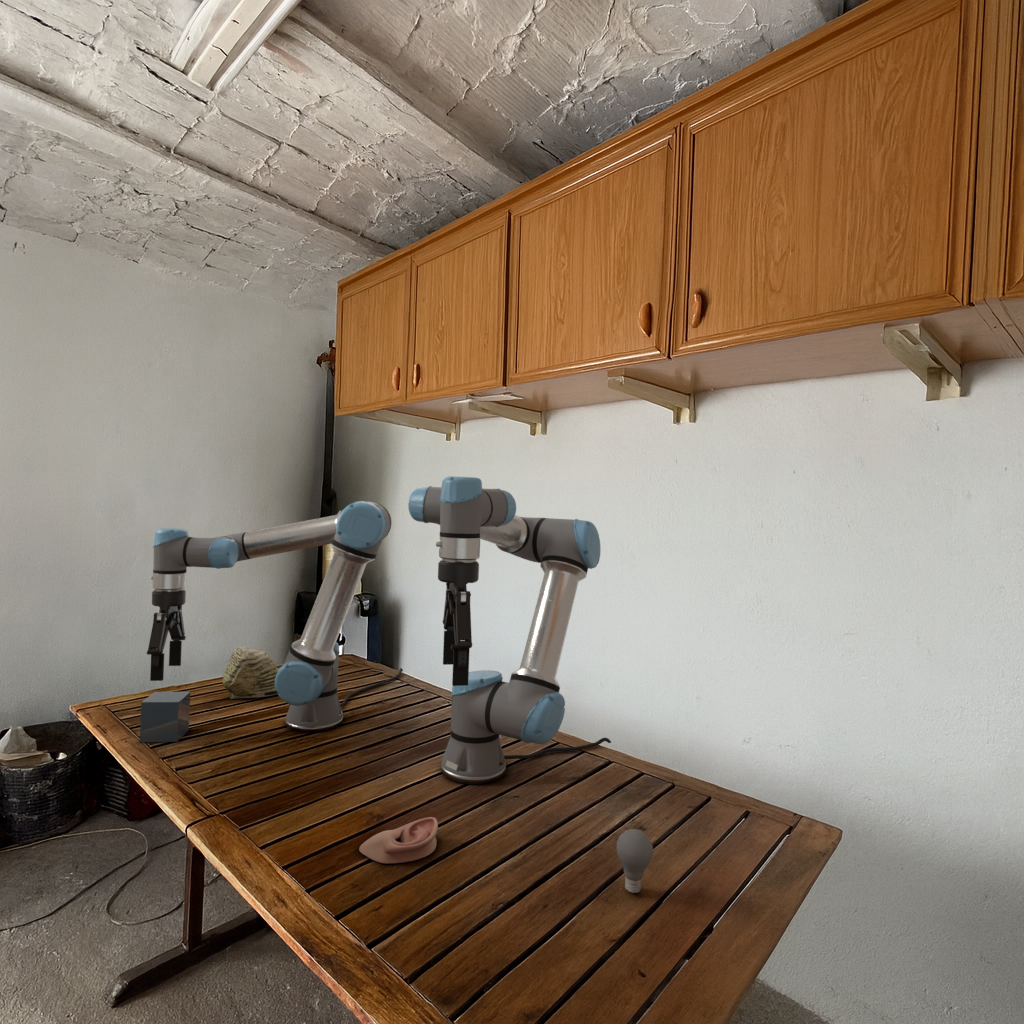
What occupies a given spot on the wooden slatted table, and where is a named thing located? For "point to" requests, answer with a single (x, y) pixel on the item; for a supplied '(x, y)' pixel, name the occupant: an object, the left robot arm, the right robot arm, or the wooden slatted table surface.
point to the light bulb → (634, 857)
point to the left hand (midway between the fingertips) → (166, 672)
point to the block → (164, 716)
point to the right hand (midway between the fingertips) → (454, 674)
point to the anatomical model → (403, 842)
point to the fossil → (250, 674)
